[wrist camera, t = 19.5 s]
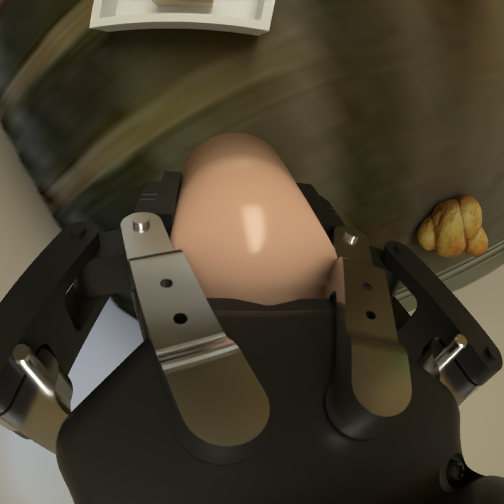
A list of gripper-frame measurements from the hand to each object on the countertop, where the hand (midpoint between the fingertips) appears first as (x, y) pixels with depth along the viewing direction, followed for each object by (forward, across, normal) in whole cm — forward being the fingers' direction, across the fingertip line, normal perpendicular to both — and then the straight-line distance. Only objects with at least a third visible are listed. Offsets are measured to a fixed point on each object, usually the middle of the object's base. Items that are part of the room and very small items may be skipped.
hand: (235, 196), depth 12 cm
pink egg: (+1, 0, 0) cm, 1 cm away
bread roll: (+18, -36, +8) cm, 41 cm away
